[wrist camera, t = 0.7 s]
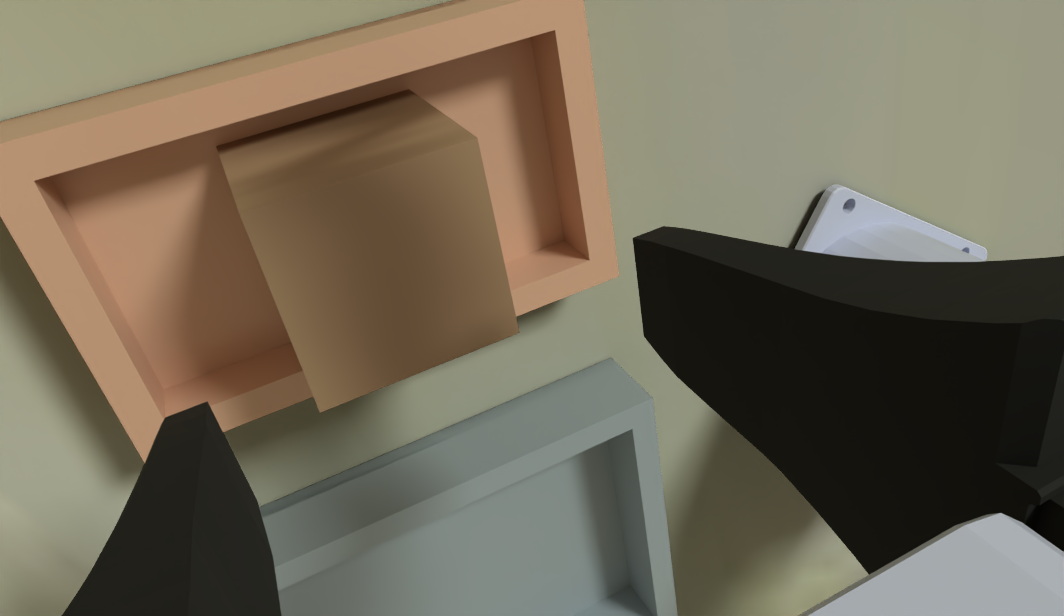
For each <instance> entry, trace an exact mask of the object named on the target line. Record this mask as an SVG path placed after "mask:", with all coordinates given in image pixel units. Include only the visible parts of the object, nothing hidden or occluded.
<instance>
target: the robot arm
mask: <svg viewBox="0 0 1064 616" xmlns="http://www.w3.org/2000/svg"><path fill="white" fill-rule="evenodd" d="M845 202H846V204H845ZM844 204H845V206H844ZM843 206H844V207H843ZM633 244H634V253H635V262H636V270H637V279H638V288H639V297H640V305H641V314H642V323H643V332H644V337H645V338H646V339H647V341H648V342H649V343H650V344H651V346H652V347H653V348H654V350H655V351H656V352H657V353H658V355H659V356H660V357H661V358H662V360H663V361H664V362H665V363H666V364H667V365H668V367H669V368H670V369H671V370H672V371H673V372H674V374H675V375H676V376H677V377H678V378H679V379H680V380H681V381H682V382H684V383H685V384H686V385H687V386H688V387H689V388H690V389H691V390H692V391H693V392H694V393H696V394H697V395H698V396H699V397H700V398H701V399H702V400H703V401H704V402H705V403H707V404H708V405H709V406H710V407H711V408H712V409H713V410H714V411H716V412H717V413H718V414H719V415H720V416H721V417H722V418H723V419H725V420H726V421H727V422H728V423H729V424H730V425H731V426H732V427H734V428H735V429H736V430H737V431H738V432H739V433H740V434H741V435H743V436H744V437H745V438H746V439H747V440H748V441H749V442H750V443H752V444H753V445H754V446H755V447H756V448H757V449H758V450H759V451H761V452H762V453H763V454H764V455H765V456H766V457H767V458H768V459H769V460H770V461H771V462H772V463H773V464H774V465H775V466H776V467H777V468H778V469H779V470H780V471H781V472H782V473H783V474H784V475H785V476H786V477H787V478H788V480H789V481H790V482H791V483H792V484H793V485H794V486H795V487H796V489H797V490H798V491H799V492H800V493H801V494H802V495H803V496H804V497H805V499H806V500H807V501H808V502H809V503H810V504H811V505H812V506H813V507H814V509H815V510H816V511H817V512H818V513H819V514H820V516H821V517H822V518H823V519H824V520H825V521H826V523H827V524H828V525H829V526H830V527H831V529H832V530H833V531H834V532H835V533H836V535H837V536H838V537H839V538H840V539H841V541H842V542H843V543H844V544H845V545H846V546H847V548H848V549H849V550H850V551H851V552H852V554H853V555H854V556H855V557H856V559H857V560H858V561H859V562H860V564H861V565H862V566H863V567H864V569H865V570H866V571H867V573H868V574H869V575H868V576H866V577H864V578H863V579H861V580H859V581H858V582H856V583H854V584H852V585H851V586H849V587H847V588H845V589H844V590H842V591H840V592H838V593H837V594H835V595H833V596H831V597H830V598H828V599H826V600H824V601H823V602H821V603H819V604H817V605H816V606H814V607H812V608H810V609H809V610H807V611H805V612H803V613H802V614H800V615H798V616H1064V256H1060V257H1049V258H1035V259H1020V260H1006V261H985V260H986V258H987V250H986V249H985V248H984V247H982V246H980V245H978V244H975V243H973V242H971V241H968V240H966V239H964V238H961V237H959V236H957V235H955V234H952V233H950V232H948V231H945V230H943V229H941V228H938V227H936V226H934V225H931V224H929V223H927V222H925V221H922V220H920V219H918V218H915V217H913V216H911V215H908V214H906V213H904V212H901V211H899V210H897V209H894V208H892V207H890V206H888V205H885V204H883V203H881V202H878V201H876V200H874V199H871V198H869V197H867V196H864V195H862V194H860V193H857V192H855V191H853V190H851V189H848V188H846V187H843V186H841V185H837V184H835V185H832V186H830V187H829V188H828V189H826V190H825V192H824V193H823V195H822V196H821V198H820V200H819V202H818V204H817V206H816V208H815V210H814V212H813V214H812V216H811V218H810V220H809V222H808V224H807V226H806V227H805V229H804V231H803V233H802V235H801V237H800V239H799V241H798V243H797V245H796V247H795V249H791V248H785V247H779V246H774V245H768V244H763V243H758V242H752V241H747V240H742V239H737V238H732V237H727V236H722V235H717V234H712V233H707V232H701V231H696V230H690V229H684V228H676V227H665V226H663V227H660V228H658V229H655V230H653V231H650V232H647V233H645V234H642V235H640V236H637V237H634V238H633ZM62 616H281V609H280V601H279V594H278V587H277V581H276V574H275V567H274V560H273V555H272V551H271V548H270V544H269V540H268V537H267V533H266V530H265V526H264V523H263V519H262V516H261V512H260V509H259V505H258V502H257V499H256V497H255V495H254V493H253V491H252V489H251V487H250V485H249V483H248V481H247V479H246V477H245V475H244V473H243V471H242V469H241V467H240V465H239V463H238V461H237V459H236V457H235V455H234V453H233V451H232V449H231V447H230V445H229V443H228V441H227V439H226V437H225V435H224V433H223V431H222V429H221V427H220V425H219V423H218V421H217V419H216V417H215V415H214V413H213V411H212V409H211V407H210V405H209V403H208V401H207V402H204V403H201V404H199V405H196V406H194V407H191V408H188V409H186V410H183V411H181V412H178V413H175V414H173V415H170V416H168V417H165V418H164V420H163V422H162V424H161V426H160V428H159V431H158V433H157V435H156V437H155V440H154V442H153V445H152V447H151V449H150V452H149V454H148V457H147V459H146V461H145V464H144V466H143V468H142V471H141V473H140V475H139V478H138V480H137V482H136V484H135V486H134V489H133V491H132V493H131V495H130V497H129V499H128V501H127V503H126V505H125V508H124V510H123V512H122V514H121V516H120V518H119V520H118V522H117V524H116V526H115V528H114V530H113V532H112V534H111V535H110V537H109V539H108V541H107V543H106V545H105V546H104V548H103V550H102V552H101V554H100V556H99V557H98V559H97V561H96V563H95V565H94V567H93V568H92V570H91V572H90V574H89V575H88V577H87V579H86V580H85V582H84V583H83V585H82V586H81V588H80V590H79V591H78V593H77V594H76V596H75V597H74V599H73V600H72V602H71V603H70V605H69V606H68V608H67V609H66V610H65V612H64V613H63V615H62Z"/></svg>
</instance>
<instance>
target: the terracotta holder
mask: <svg viewBox="0 0 1064 616" xmlns="http://www.w3.org/2000/svg"><path fill="white" fill-rule="evenodd" d="M407 89H410V90H411V91H412V92H414V93H415V94H417V95H418V96H419V97H421V98H422V99H424V100H425V101H427V102H428V103H429V104H431V105H432V106H434V107H435V108H436V109H438V110H439V111H441V112H442V113H443V114H445V115H446V116H448V117H449V118H451V119H452V120H453V121H455V122H456V123H458V124H459V125H460V126H462V127H463V128H465V129H466V130H468V131H469V132H470V133H472V134H473V135H475V136H476V137H477V138H478V143H479V147H480V152H481V157H482V161H483V166H484V170H485V175H486V180H487V184H488V189H489V194H490V198H491V203H492V207H493V212H494V217H495V221H496V226H497V231H498V235H499V240H500V244H501V249H502V254H503V258H504V263H505V268H506V272H507V277H508V281H509V286H510V291H511V295H512V300H513V305H514V309H515V314H516V316H519V315H522V314H524V313H527V312H529V311H532V310H534V309H537V308H539V307H542V306H544V305H547V304H549V303H552V302H554V301H557V300H560V299H562V298H565V297H567V296H570V295H572V294H575V293H577V292H580V291H582V290H585V289H587V288H590V287H593V286H595V285H598V284H600V283H603V282H605V281H608V280H610V279H613V278H615V277H618V276H619V270H618V263H617V255H616V247H615V239H614V232H613V224H612V216H611V209H610V201H609V193H608V185H607V178H606V170H605V162H604V154H603V147H602V139H601V131H600V123H599V116H598V108H597V100H596V92H595V85H594V77H593V69H592V61H591V54H590V46H589V38H588V30H587V23H586V15H585V7H584V0H452V1H449V2H445V3H441V4H437V5H434V6H430V7H426V8H422V9H419V10H415V11H411V12H408V13H404V14H400V15H396V16H393V17H389V18H385V19H381V20H378V21H374V22H370V23H366V24H363V25H359V26H355V27H351V28H348V29H344V30H340V31H337V32H333V33H329V34H325V35H322V36H318V37H314V38H310V39H307V40H303V41H299V42H295V43H292V44H288V45H284V46H280V47H277V48H273V49H269V50H266V51H262V52H258V53H254V54H251V55H247V56H243V57H239V58H236V59H232V60H228V61H224V62H221V63H217V64H213V65H209V66H206V67H202V68H198V69H195V70H191V71H187V72H183V73H180V74H176V75H172V76H168V77H165V78H161V79H157V80H153V81H150V82H146V83H142V84H138V85H135V86H131V87H127V88H124V89H120V90H116V91H112V92H109V93H105V94H101V95H97V96H94V97H90V98H86V99H82V100H79V101H75V102H71V103H67V104H64V105H60V106H56V107H53V108H49V109H45V110H41V111H38V112H34V113H30V114H26V115H23V116H19V117H15V118H11V119H8V120H4V121H0V217H1V218H2V220H3V222H4V223H5V225H6V227H7V228H8V230H9V232H10V234H11V235H12V237H13V239H14V240H15V242H16V244H17V246H18V247H19V249H20V251H21V252H22V254H23V256H24V258H25V259H26V261H27V263H28V264H29V266H30V268H31V270H32V271H33V273H34V275H35V276H36V278H37V280H38V282H39V283H40V285H41V287H42V288H43V290H44V292H45V294H46V295H47V297H48V299H49V300H50V302H51V304H52V306H53V307H54V309H55V311H56V312H57V314H58V316H59V317H60V319H61V321H62V323H63V324H64V326H65V328H66V329H67V331H68V333H69V335H70V336H71V338H72V340H73V341H74V343H75V345H76V347H77V348H78V350H79V352H80V353H81V355H82V357H83V359H84V360H85V362H86V364H87V365H88V367H89V369H90V371H91V372H92V374H93V376H94V377H95V379H96V381H97V383H98V384H99V386H100V388H101V389H102V391H103V393H104V395H105V396H106V398H107V400H108V401H109V403H110V405H111V407H112V408H113V410H114V412H115V413H116V415H117V417H118V418H119V420H120V422H121V424H122V425H123V427H124V429H125V430H126V432H127V434H128V436H129V437H130V439H131V441H132V442H133V444H134V446H135V448H136V449H137V451H138V453H139V454H140V456H141V458H142V460H143V461H144V463H145V461H146V459H147V457H148V454H149V452H150V449H151V447H152V445H153V442H154V440H155V437H156V435H157V433H158V431H159V428H160V426H161V424H162V422H163V420H164V418H165V417H168V416H170V415H173V414H175V413H178V412H181V411H183V410H186V409H188V408H191V407H194V406H196V405H199V404H201V403H204V402H207V401H208V403H209V405H210V407H211V409H212V411H213V413H214V415H215V417H216V419H217V421H218V423H219V425H220V427H221V429H222V431H223V432H225V431H228V430H230V429H233V428H235V427H238V426H240V425H243V424H245V423H248V422H250V421H253V420H255V419H258V418H261V417H263V416H266V415H268V414H271V413H273V412H276V411H278V410H281V409H283V408H286V407H288V406H291V405H293V404H296V403H299V402H301V401H304V400H306V399H309V398H311V397H313V394H312V392H311V389H310V387H309V385H308V382H307V380H306V377H305V375H304V372H303V370H302V367H301V365H300V362H299V360H298V357H297V355H296V352H295V350H294V348H293V345H292V343H291V340H290V338H289V335H288V333H287V330H286V328H285V325H284V323H283V320H282V318H281V315H280V313H279V311H278V308H277V306H276V303H275V301H274V298H273V296H272V293H271V291H270V288H269V286H268V283H267V281H266V278H265V276H264V274H263V271H262V269H261V266H260V264H259V261H258V259H257V256H256V254H255V251H254V249H253V246H252V244H251V242H250V239H249V237H248V234H247V232H246V229H245V227H244V224H243V222H242V219H241V217H240V214H239V212H238V209H237V206H236V203H235V200H234V197H233V194H232V191H231V188H230V185H229V183H228V180H227V177H226V174H225V171H224V168H223V165H222V162H221V159H220V156H219V153H218V151H217V148H216V146H218V145H221V144H225V143H228V142H232V141H235V140H238V139H242V138H245V137H248V136H252V135H255V134H259V133H262V132H265V131H269V130H272V129H276V128H279V127H282V126H286V125H289V124H292V123H296V122H299V121H303V120H306V119H309V118H313V117H316V116H319V115H323V114H326V113H330V112H333V111H336V110H340V109H343V108H347V107H350V106H353V105H357V104H360V103H363V102H367V101H370V100H374V99H377V98H380V97H384V96H387V95H390V94H394V93H397V92H401V91H404V90H407Z"/></svg>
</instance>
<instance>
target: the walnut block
mask: <svg viewBox="0 0 1064 616" xmlns="http://www.w3.org/2000/svg"><path fill="white" fill-rule="evenodd" d="M216 148H217V151H218V153H219V156H220V159H221V162H222V165H223V168H224V171H225V174H226V177H227V180H228V183H229V185H230V188H231V191H232V194H233V197H234V200H235V203H236V206H237V209H238V212H239V214H240V217H241V219H242V222H243V224H244V227H245V229H246V232H247V234H248V237H249V239H250V242H251V244H252V246H253V249H254V251H255V254H256V256H257V259H258V261H259V264H260V266H261V269H262V271H263V274H264V276H265V278H266V281H267V283H268V286H269V288H270V291H271V293H272V296H273V298H274V301H275V303H276V306H277V308H278V311H279V313H280V315H281V318H282V320H283V323H284V325H285V328H286V330H287V333H288V335H289V338H290V340H291V343H292V345H293V348H294V350H295V352H296V355H297V357H298V360H299V362H300V365H301V367H302V370H303V372H304V375H305V377H306V380H307V382H308V385H309V387H310V389H311V392H312V394H313V397H314V399H315V402H316V404H317V407H318V409H319V412H320V413H321V412H323V411H326V410H328V409H331V408H333V407H336V406H338V405H341V404H343V403H346V402H348V401H351V400H353V399H356V398H358V397H361V396H363V395H365V394H368V393H370V392H373V391H375V390H378V389H380V388H383V387H385V386H388V385H390V384H393V383H395V382H398V381H400V380H403V379H405V378H408V377H410V376H413V375H415V374H418V373H420V372H423V371H425V370H428V369H430V368H433V367H435V366H438V365H440V364H443V363H445V362H448V361H450V360H453V359H455V358H458V357H460V356H463V355H465V354H468V353H470V352H473V351H475V350H478V349H480V348H483V347H485V346H488V345H490V344H493V343H495V342H498V341H500V340H503V339H505V338H508V337H510V336H513V335H515V334H518V333H520V332H519V328H518V323H517V318H516V314H515V309H514V305H513V300H512V295H511V291H510V286H509V281H508V277H507V272H506V268H505V263H504V258H503V254H502V249H501V244H500V240H499V235H498V231H497V226H496V221H495V217H494V212H493V207H492V203H491V198H490V194H489V189H488V184H487V180H486V175H485V170H484V166H483V161H482V157H481V152H480V147H479V143H478V138H477V137H476V136H475V135H473V134H472V133H470V132H469V131H468V130H466V129H465V128H463V127H462V126H460V125H459V124H458V123H456V122H455V121H453V120H452V119H451V118H449V117H448V116H446V115H445V114H443V113H442V112H441V111H439V110H438V109H436V108H435V107H434V106H432V105H431V104H429V103H428V102H427V101H425V100H424V99H422V98H421V97H419V96H418V95H417V94H415V93H414V92H412V91H411V90H410V89H407V90H404V91H401V92H397V93H394V94H390V95H387V96H384V97H380V98H377V99H374V100H370V101H367V102H363V103H360V104H357V105H353V106H350V107H347V108H343V109H340V110H336V111H333V112H330V113H326V114H323V115H319V116H316V117H313V118H309V119H306V120H303V121H299V122H296V123H292V124H289V125H286V126H282V127H279V128H276V129H272V130H269V131H265V132H262V133H259V134H255V135H252V136H248V137H245V138H242V139H238V140H235V141H232V142H228V143H225V144H221V145H218V146H216Z"/></svg>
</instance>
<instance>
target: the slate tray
mask: <svg viewBox="0 0 1064 616" xmlns="http://www.w3.org/2000/svg"><path fill="white" fill-rule="evenodd" d="M259 509H260V512H261V516H262V519H263V523H264V526H265V530H266V533H267V537H268V540H269V544H270V548H271V551H272V555H273V560H274V567H275V574H276V581H277V587H278V594H279V601H280V609H281V616H678V614H677V605H676V597H675V588H674V579H673V570H672V561H671V553H670V544H669V535H668V526H667V517H666V509H665V500H664V491H663V482H662V474H661V465H660V456H659V447H658V438H657V430H656V421H655V412H654V403H653V397H652V396H650V395H649V394H648V393H647V392H646V391H645V390H644V389H643V388H642V387H641V386H640V385H639V384H638V383H637V382H636V381H635V380H634V379H633V378H632V377H631V376H630V375H629V374H628V373H627V372H626V371H625V370H624V369H623V368H622V367H620V366H619V365H618V364H617V363H616V362H615V361H614V360H613V359H612V358H609V359H607V360H605V361H602V362H600V363H598V364H595V365H593V366H591V367H588V368H586V369H584V370H581V371H579V372H577V373H574V374H572V375H570V376H567V377H565V378H562V379H560V380H558V381H555V382H553V383H551V384H548V385H546V386H544V387H541V388H539V389H537V390H534V391H532V392H530V393H527V394H525V395H523V396H520V397H518V398H515V399H513V400H511V401H508V402H506V403H504V404H501V405H499V406H497V407H494V408H492V409H490V410H487V411H485V412H483V413H480V414H478V415H476V416H473V417H471V418H469V419H466V420H464V421H461V422H459V423H457V424H454V425H452V426H450V427H447V428H445V429H443V430H440V431H438V432H436V433H433V434H431V435H429V436H426V437H424V438H422V439H419V440H417V441H414V442H412V443H410V444H407V445H405V446H403V447H400V448H398V449H396V450H393V451H391V452H389V453H386V454H384V455H382V456H379V457H377V458H375V459H372V460H370V461H367V462H365V463H363V464H360V465H358V466H356V467H353V468H351V469H349V470H346V471H344V472H342V473H339V474H337V475H335V476H332V477H330V478H328V479H325V480H323V481H321V482H318V483H316V484H313V485H311V486H309V487H306V488H304V489H302V490H299V491H297V492H295V493H292V494H290V495H288V496H285V497H283V498H281V499H278V500H276V501H274V502H271V503H269V504H266V505H264V506H262V507H259Z"/></svg>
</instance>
